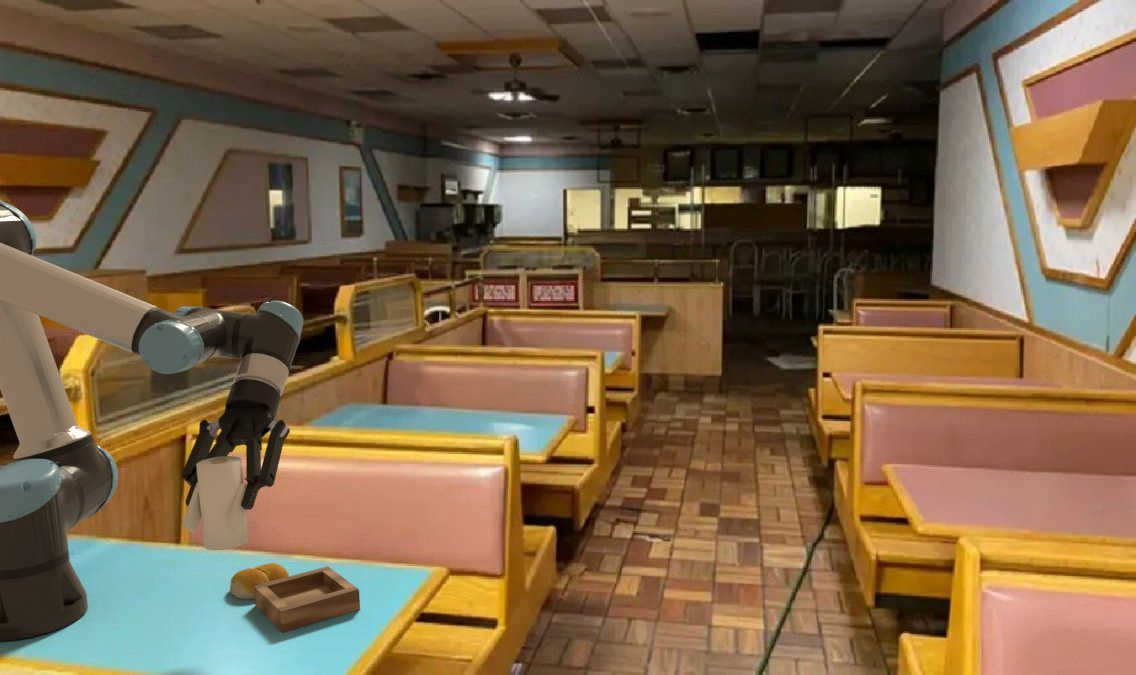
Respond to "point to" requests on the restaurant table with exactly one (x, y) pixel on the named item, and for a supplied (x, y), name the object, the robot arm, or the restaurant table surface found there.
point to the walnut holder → (306, 598)
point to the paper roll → (220, 501)
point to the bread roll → (255, 579)
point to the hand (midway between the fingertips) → (211, 528)
